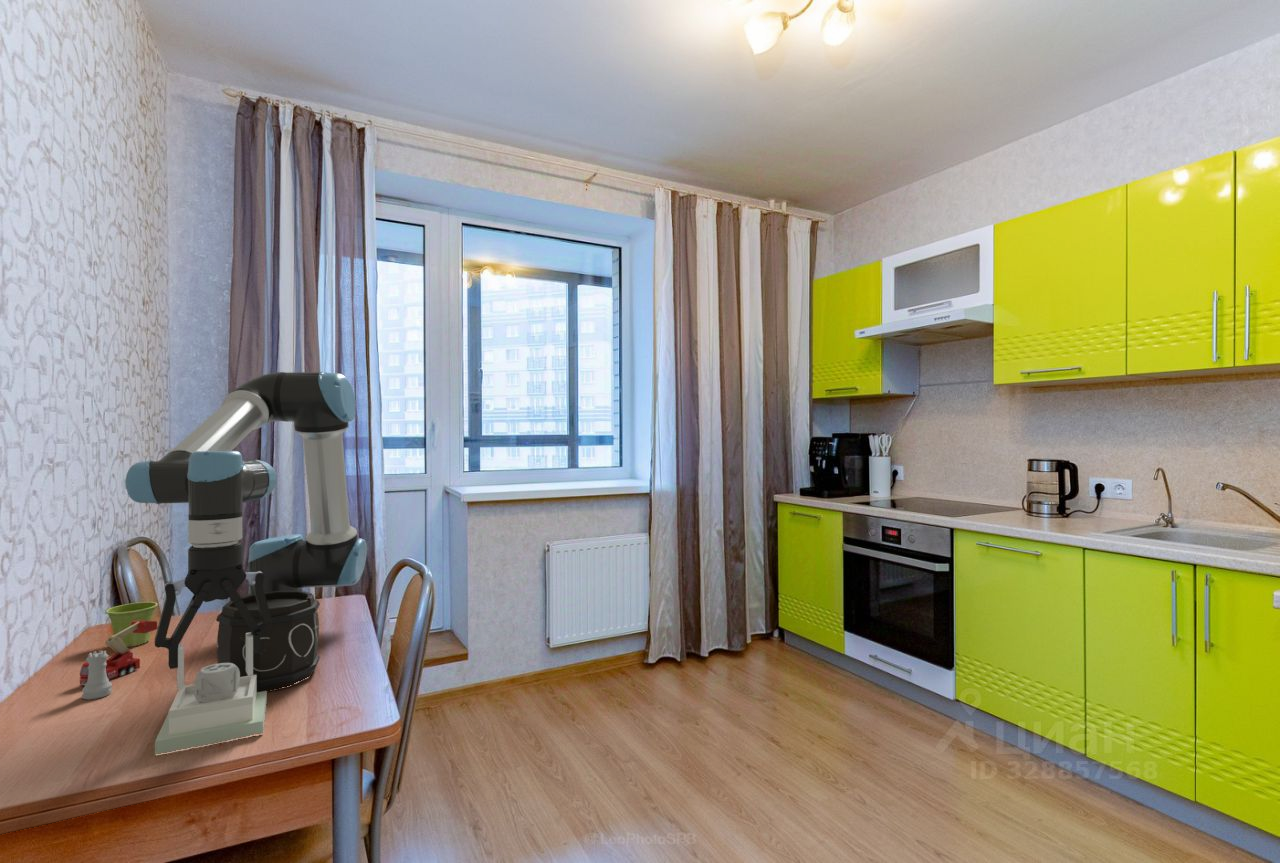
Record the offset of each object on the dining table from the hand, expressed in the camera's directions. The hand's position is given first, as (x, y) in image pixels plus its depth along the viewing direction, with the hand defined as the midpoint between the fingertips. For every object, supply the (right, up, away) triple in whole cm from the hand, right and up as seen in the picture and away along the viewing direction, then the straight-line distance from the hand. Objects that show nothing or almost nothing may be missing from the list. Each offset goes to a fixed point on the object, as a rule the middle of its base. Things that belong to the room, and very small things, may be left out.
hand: (215, 679), depth 105 cm
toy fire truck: (-36, -9, +24) cm, 44 cm away
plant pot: (-49, -9, +43) cm, 65 cm away
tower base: (0, -9, 0) cm, 9 cm away
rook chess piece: (-31, -8, +13) cm, 35 cm away
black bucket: (-3, -8, +22) cm, 23 cm away
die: (0, -3, 0) cm, 3 cm away
